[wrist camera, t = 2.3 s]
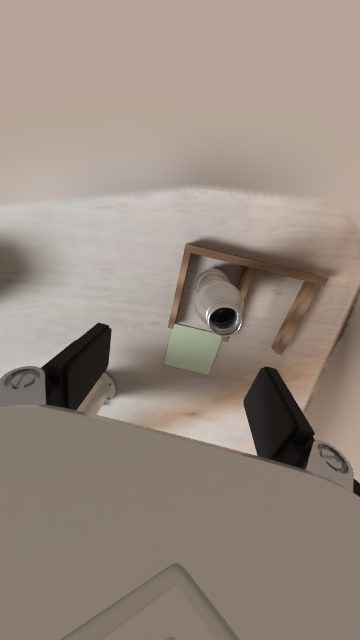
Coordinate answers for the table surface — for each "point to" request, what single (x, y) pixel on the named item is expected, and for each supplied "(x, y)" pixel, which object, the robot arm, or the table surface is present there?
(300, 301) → the bottle rack
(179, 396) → the table surface
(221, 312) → the plastic bottle
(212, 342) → the mat
